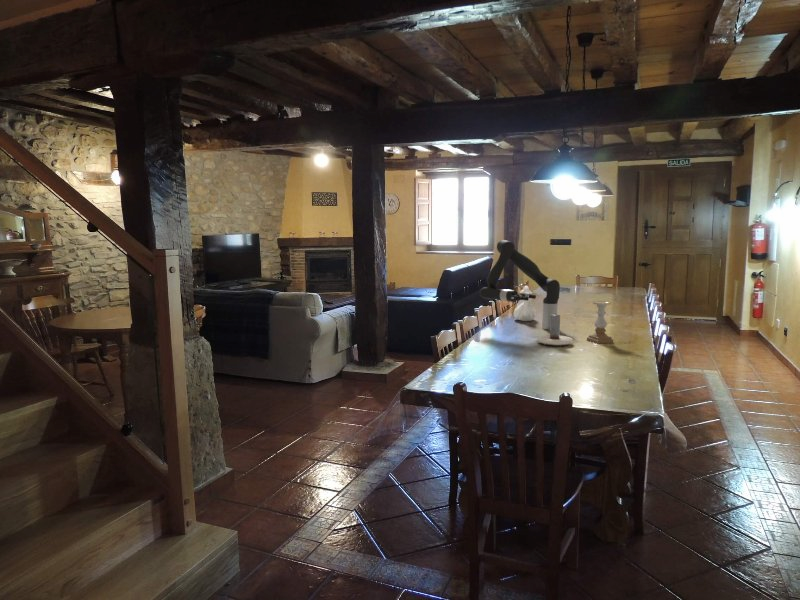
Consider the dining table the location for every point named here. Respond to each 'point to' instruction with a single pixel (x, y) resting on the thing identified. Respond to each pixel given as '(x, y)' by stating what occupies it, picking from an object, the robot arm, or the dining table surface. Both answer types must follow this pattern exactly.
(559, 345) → the turntable base
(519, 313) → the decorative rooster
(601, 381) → the dining table surface
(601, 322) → the candle holder
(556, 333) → the cup
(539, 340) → the disc
